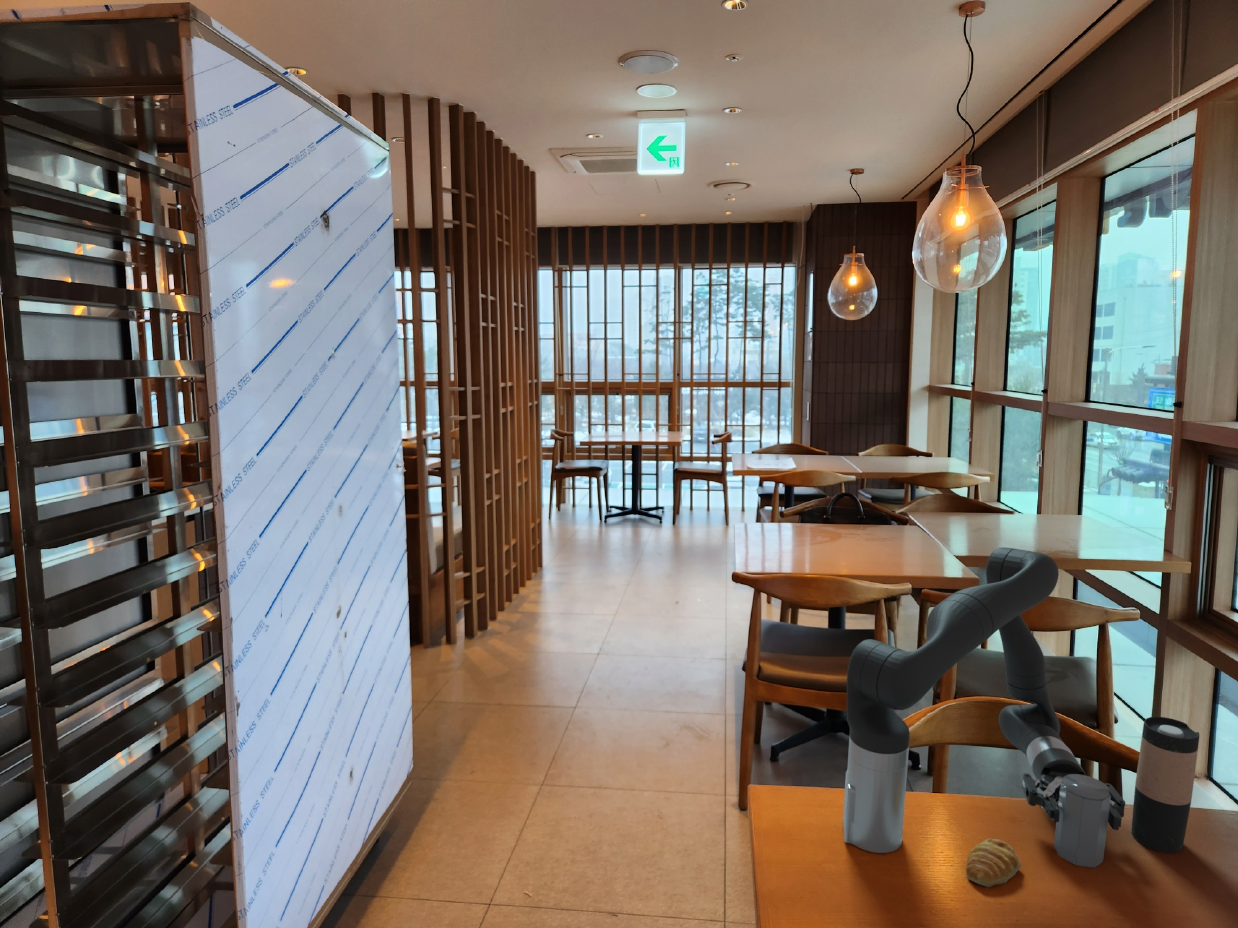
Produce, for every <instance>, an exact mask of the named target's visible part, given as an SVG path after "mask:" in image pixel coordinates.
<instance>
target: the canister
mask: <svg viewBox="0 0 1238 928" xmlns="http://www.w3.org/2000/svg"><path fill="white" fill-rule="evenodd" d="M1104 783H1105V782H1103V781H1101V780H1099V779H1098V778H1095V777H1093V776H1089V775H1086V776H1085V775H1080V774H1069V775H1066V776H1064V778H1063V781H1061V785H1060V794H1059V803H1058V804H1057V807H1058V808H1059V811H1060V815H1059V822H1055V832H1054V839H1053V840H1054V842H1053V847H1054V849H1055V851H1056V853H1057V855H1058V856H1059V857H1060V858H1062V859H1064V860H1065V861H1067V862H1068V863H1070V864H1073V865H1075V866H1078V867H1079V866H1080V867H1087V868H1096V867H1098V866H1099V865H1101V864H1102V863H1104V857H1105V847H1106V840H1107V832H1108V825H1109V823H1108V816H1109V808H1110V800H1111V795H1110V794H1109V788H1108V787H1107V786H1106V785H1105V784H1104Z"/></svg>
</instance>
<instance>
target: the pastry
mask: <svg viewBox="0 0 1238 928" xmlns="http://www.w3.org/2000/svg"><path fill="white" fill-rule="evenodd" d="M1021 867H1022V863H1021V861H1020V860H1019V856H1018V855H1017V854H1016V851H1015V850H1014V848H1013V847H1012V846H1011V845H1010V844H1009V843H1007V842H1005V841H1003V840H1002V839H998V838H997V839H993V838H990V837H989V838H988V839H983V841H982V842H980V843H978V844H976V845H975V846H973V847H972V849H971V850H970V852H969V853H968V855H967V860H966V866H965V872H966V877H967V879H968V880H970V881H972V882H974V883H976V884H977V885H981V886H984V887H987V888H990V887H993V886H995V885H1000V884H1006V883H1007V882H1008V881H1009V880H1010V879H1011V878H1013V877H1014V876H1015V875H1016V874H1017V873H1018V871H1020V870H1021Z"/></svg>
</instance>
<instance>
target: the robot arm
mask: <svg viewBox="0 0 1238 928" xmlns="http://www.w3.org/2000/svg"><path fill="white" fill-rule="evenodd" d="M1059 571H1060V570H1059V566H1058V564H1057V562H1056V561H1055V560H1054V559H1053V558H1052V557H1051V556H1049V555H1047V554H1044V553H1042V552H1037V551H1031V550H1026V549H1021V548H1020V549H1018V548H1013V547H1005V546H1004V547H1003V546H1002V547H998V548H995V549H994V550H992V552H991V554H990V555H989V556H988V559H987V561H986V566H985V578H986V579H985V580H986V583H984V584H980V585H975V586H970V587H967V588H962V589H960V590H957V591H955V592H954V593H952V594H951V595H949V596H947V597H946V598H945V599H943V600H942V601H940V602H939V603H937V605H935V606H934V607H933V608H932V609H931V611H930V612H929V614H928V616H927V620H926V628H925V635H926V642H925V643H924V644H922V646H920V647H919V648H917V649H915V650H910V651H906V650H904V649H902V648H899V647H896V646H892V645H890V644H887V643H885V642H882V641H879V640H877V639H876V640H875V639H870V638H869V639H864V640H862V641H860V642H859V643H858V644H857V645H856V647H855V648H854V649H853V650H852V652H851V655H850V657H849V662H848V664H847V674H846V719H847V720H846V721H847V724H848V727H849V737H848V738H849V741H848V754H847V755H848V756H847V770H846V771H845V783H844V795H843V796H844V799H843V813H842V814H843V815H842V824H843V825H842V827H843V838H844V843H846V844H850V845H854V846H855V847H858V848H860V849H861V850H864V851H867V852H870V853H876V854H877V853H878V854H886V853H892V852H895V851H897V850H898V849H899V848H900V847H901V846H902V843H903V834H904V818H905V817H904V816H905V805H906V803H905V802H906V792H907V791H906V790H907V778H908V776H907V775H908V764H909V751H910V738H911V737H910V735H911V733H910V729H909V726H908V725H907V723H906V722H905V721H904V719H903V718H901V717H900V715H899V714H897V713H896V711H894V710H897V711H904V710H908V709H909V708H911V707H913V706H914V705H916V704H917V703H918V702H919V701H920V700H921V699H922V698H923V697H924V696H925V695H927V693H928V692H929V691H930V690H931V689H932V688H933V687H934V685H936V683H938V681H939V680H940V679H942V678H943V676H944V675H945V674H946V673H947V672H948V671H950V670H951V669H952V668H953V667H954V666H955V665H956V664H957V663H958V662H960V661H961V660H962V659H963V658H965V657H966V656H967V655H968V654H970V653H972V651H974V650H975V649H977V648H978V647H980V645H982V644H984V642H986V641H987V640H988V639H990V638H991V637H992V635H994V634H995V633H996V632H997V631H998V633H999V635H1000V636H999V637H1000V639H1001V645H1002V650H1003V657H1004V658H1003V659H1004V669H1005V670H1004V672H1005V682H1006V690H1007V692H1008V694H1009V695H1010V696H1011V697H1013V698H1014V699H1016V700H1019V701H1023V702H1029V703H1028V704H1027V703H1026V704H1024V703H1023V704H1011V705H1010V704H1009V705H1007V706H1005V707H1003V708H1002V709H1001V710H1000V712H999V714H998V724H999V728H1000V731H1001V733H1002V734H1003V735H1004V737H1005V739H1006V740H1007V741H1008V742H1009V743H1010V744H1011V745H1013V746H1014V747H1016V748H1017V749H1018V750H1020V752H1022V753H1023V754H1024V755H1025V757H1026V759H1027V761H1028V765H1029V768H1030V770H1031V772H1032V774H1033V775H1034V777H1035V778H1032V777H1033V776H1032V775H1031V774H1030V773H1023V775H1022V782H1021V783H1022V785H1021V788H1022V791H1023V794H1024V796H1025V800H1026V802H1027V804H1028V805H1029V806H1032V807H1036V806H1037V805H1038V806H1040V808H1041V809H1043V811H1044V813H1045V814H1046V816H1047V817H1048V818H1049V819H1051V821H1052V822H1053V823H1056V822H1059V815H1060V811H1059V808H1058V803H1059V794H1060V785H1061V781H1063V778H1064V776H1066V775H1069V774H1080V775H1085V776H1087V775H1086V772H1085V770H1084V768H1083V767H1082V766H1081V765H1080V763H1079V761H1078V760H1077V758H1076V757H1075V755H1074V754H1073V752H1072V750H1071V749H1070V748H1069V747H1068V746H1067V745H1066V744H1065V743H1064V741H1063V740H1062V738H1061V737H1060V732H1061V723H1060V721H1059V717H1058V715H1057V713H1056V711H1055V708H1054V707H1053V703H1052V702H1051V701H1052V700H1051V698H1050V695H1049V690H1048V684H1047V673H1046V672H1047V671H1046V661H1045V657H1044V652H1043V650H1042V648H1041V647H1040V644H1039V642H1038V640H1037V639H1036V638H1035V636H1034V634H1033V633H1032V632H1031V630H1030V628H1029V627H1028V625H1027V623H1026V622H1025V620H1024V618H1023V616H1022V614H1023V613H1025V612H1026V611H1029V610H1031V609H1032V608H1034V607H1035V606H1038V605H1040V604H1041V603H1042V602H1044V601H1045V600H1046V599H1048V598H1049V597H1050V596H1051V594H1052V593H1053V591H1055V588H1056V586H1057V583H1058V581H1059V575H1060V574H1059ZM1103 783H1104V784H1105V785H1106V786H1107V787H1108V788H1109V794H1110V795H1111V800H1110V808H1109V816H1108V825H1109V826H1110V828H1111V829H1112V830H1115V831H1119V828H1121V826H1122V818H1124V816H1125V808H1126V801H1125V800H1124V798H1123V797H1122V796H1121V795H1120V793H1119V792H1118V791H1117V790H1116V788H1115V787H1114V786H1113V785H1112V784H1111V783H1108V782H1103ZM1038 788H1039V790H1041V793H1040V792H1038V790H1037V789H1038Z"/></svg>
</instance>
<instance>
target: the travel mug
mask: <svg viewBox="0 0 1238 928" xmlns="http://www.w3.org/2000/svg"><path fill="white" fill-rule="evenodd" d="M1142 725H1143V726H1142V735H1141V741H1140V748H1139V757H1138V761H1137V762H1138V763H1137V769H1136V777H1135V785H1134V795H1133V796H1134V797H1133V807H1132V818H1131V819H1132V820H1131V835H1132V837H1133V838H1134V839H1135V840H1136V841H1137V842H1138V843H1140V844H1141V845H1143V846H1144V847H1147V848H1148V849H1151V850H1154V851H1156V852H1160V853H1165V854H1177V853H1180V852H1181V851H1182V850H1183V848H1184V842H1185V838H1186V832H1187V827H1188V820H1189V817H1190V809H1191V805H1192V798H1193V793H1194V792H1193V790H1194V783H1195V775H1196V774H1195V773H1196V767H1197V759H1198V750H1199V743H1200V732H1199V731H1194V730H1193V729H1192V728H1190V727H1189V724H1187V723H1185V722H1184V721H1182V720H1181V721H1180V720H1178V719H1174V718H1169V717H1165V716H1150V717H1147V718H1145V720H1144V721H1143V724H1142Z"/></svg>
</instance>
